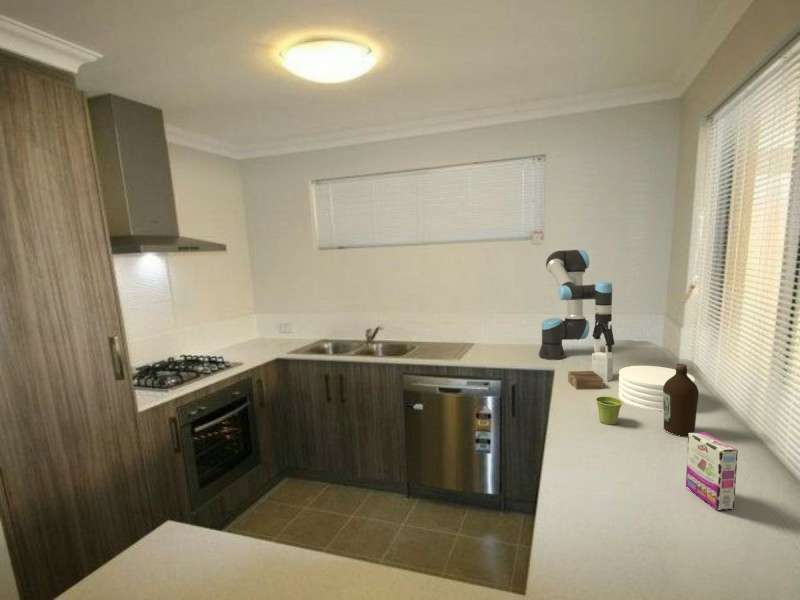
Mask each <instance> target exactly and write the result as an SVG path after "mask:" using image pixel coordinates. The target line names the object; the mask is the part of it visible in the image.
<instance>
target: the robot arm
mask: <svg viewBox="0 0 800 600" xmlns="http://www.w3.org/2000/svg"><path fill="white" fill-rule="evenodd" d="M589 266H590V259H589V255H588V252H586V251H585V250H584V249H568V250H566V249H565V250H564V249H563V250H555V251H554V252H552V253H551V254H550V255H549V256H547V258H546V260H545V268H546V270H547V271H548V272H549V273H550V274H552V277H553V279H554V280H555V282H556V284H557V285H558V290H557V291H558V292H557V293H558V294H557V295H558V299H559V300H560V301H567V303H566V305H567V314H566V315H565V317H564V320H563V319H562V318H561V317H560V318H559V317H557V318H556V317H555V318H554V317H552V318H547V319H544V320H543V321H542V323H541V345H540V348H539V351H538V357H539V356H540V357H539V358H541V357H543V358H542V359H544V358H546V359H545V360H551V359H558V360H563V359H565V358H566V352H565V349H564V346H563V341H564V340H565V341H570V340H571V341H572V340H577V341H579V340H585V339H586V338H588V336H589V333H590V322H589V320H587V318H586V316H585V315H584V312H583V310H584V307H583V305H584V300H585V301H586V300H595V301H594V302H595V303H594V304H595V305H594V312H595V314H594V327H593V331H592V337H593V340H594V341H593V344H594V347H593V348H594V349H593V350H594V352H593V353H595V352H601V336H602V334H603V337H604V339H605V353H606V358H612V354H613V346H614V345H616V344H615V340H614V338H615V337H614V333H613V326H612V324H609V323H610V322H612V321H613V314H612V312H613V284H612V282H608V281H601V282H600V281H599V282H596V283H594V284H592V283H591V284H585V285H584V284H583V276H584V274H585V273H586V270H587V269H588V268H589Z"/></svg>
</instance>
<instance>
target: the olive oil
mask: <svg viewBox="0 0 800 600" xmlns="http://www.w3.org/2000/svg"><path fill="white" fill-rule="evenodd" d="M687 367H688V365H687V364H685V363H677V364H676V367H675V370H676V374H675V375H674V376H673V377H671V378H670V379H669V380H667V381H666V382H665V384H664V387H663V407H664V412H663V430H664V429H665V430H666V431H668V432H670V433H673V434H676V435H680V436H679V437H682V436H688V433H696V432H695V431H696V421H697V420H696V419H697V412H698V404H699V395H700V394H699V389H698V386H697V383H696V382H695V383H694V382H693V381H692V380H691V379H690V378H689V377H688V376H687V373H688V368H687ZM665 430H664V431H665ZM666 431H665V432H666ZM668 432H667V433H668ZM670 433H669V434H670ZM673 434H672V435H673ZM676 435H675V436H676Z"/></svg>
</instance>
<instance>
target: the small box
mask: <svg viewBox="0 0 800 600" xmlns="http://www.w3.org/2000/svg"><path fill="white" fill-rule="evenodd" d="M591 371H593V372H595V373H596V374H597V375H599V376H600V377H601V378H603V382H609V381H611V380H613V378H614V354H613V353H612V358H606V352H602V351H600V352H593V353H591Z"/></svg>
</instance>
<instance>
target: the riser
mask: <svg viewBox="0 0 800 600" xmlns="http://www.w3.org/2000/svg"><path fill="white" fill-rule="evenodd" d="M567 382H568V383H569V384H570V385H571V386H572V387H573V388H575V390H603V389H604V388H603V384H604V383H603V382H604V381H603V378H601V377H600V376H599V375H597V374H596V373H595V372H593V371H592V370H582V371H579V370H578V371H567Z"/></svg>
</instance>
